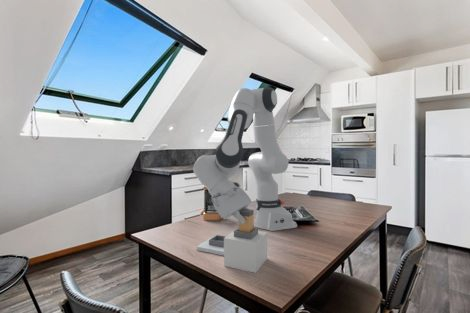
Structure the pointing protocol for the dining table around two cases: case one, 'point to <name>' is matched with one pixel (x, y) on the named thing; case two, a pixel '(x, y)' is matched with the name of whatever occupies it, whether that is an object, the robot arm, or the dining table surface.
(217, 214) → the whiskey bottle
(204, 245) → the low plate
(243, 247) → the block
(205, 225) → the dining table surface
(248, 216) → the tan piece
